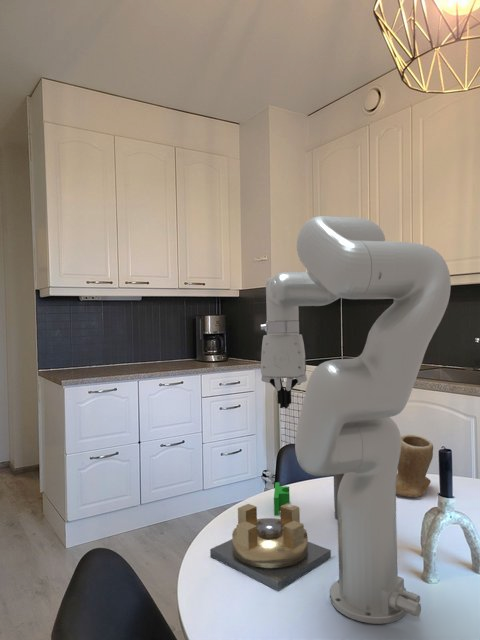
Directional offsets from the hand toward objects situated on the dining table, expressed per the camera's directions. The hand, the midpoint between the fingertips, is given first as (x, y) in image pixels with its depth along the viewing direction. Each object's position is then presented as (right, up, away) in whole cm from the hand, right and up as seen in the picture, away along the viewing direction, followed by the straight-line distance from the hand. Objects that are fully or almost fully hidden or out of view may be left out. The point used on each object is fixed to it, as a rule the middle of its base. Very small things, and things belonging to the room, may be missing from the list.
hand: (284, 406), depth 111 cm
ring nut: (-4, -26, -16) cm, 31 cm away
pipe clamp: (0, -28, +9) cm, 29 cm away
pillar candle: (+17, -27, +2) cm, 32 cm away
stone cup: (+37, -27, +19) cm, 49 cm away
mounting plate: (-4, -27, -16) cm, 32 cm away
